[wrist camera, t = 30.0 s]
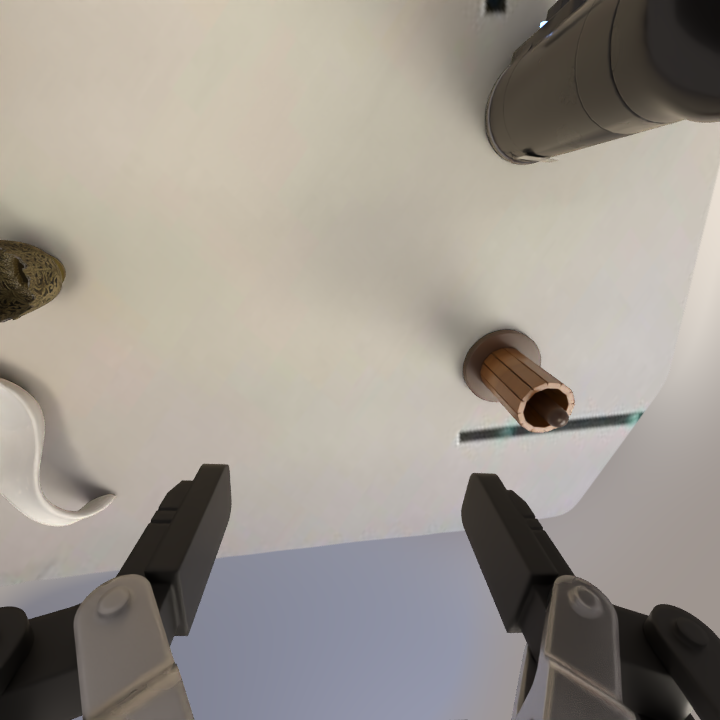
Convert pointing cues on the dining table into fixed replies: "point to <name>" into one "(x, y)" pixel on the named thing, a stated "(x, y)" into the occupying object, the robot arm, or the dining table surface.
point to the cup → (27, 279)
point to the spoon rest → (30, 460)
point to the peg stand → (528, 348)
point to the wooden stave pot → (523, 387)
